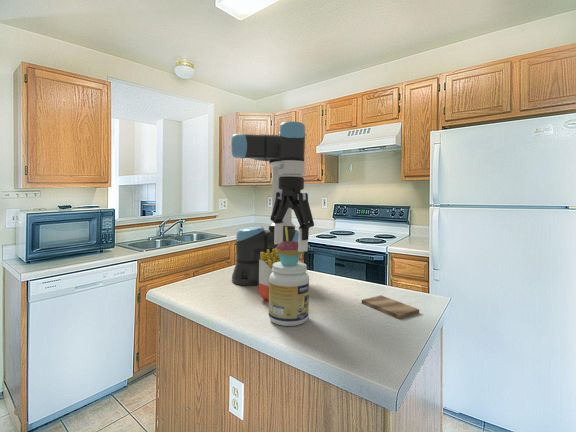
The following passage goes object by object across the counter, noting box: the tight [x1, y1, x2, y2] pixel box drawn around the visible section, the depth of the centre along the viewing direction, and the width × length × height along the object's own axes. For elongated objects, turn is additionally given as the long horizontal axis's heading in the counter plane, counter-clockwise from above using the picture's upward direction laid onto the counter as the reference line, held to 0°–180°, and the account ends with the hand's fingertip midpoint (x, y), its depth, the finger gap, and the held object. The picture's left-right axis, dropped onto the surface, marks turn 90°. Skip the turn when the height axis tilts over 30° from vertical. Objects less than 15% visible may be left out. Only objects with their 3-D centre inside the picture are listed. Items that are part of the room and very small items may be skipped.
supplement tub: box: [268, 261, 310, 327], centre depth 94 cm, size 12×12×17 cm
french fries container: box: [258, 248, 281, 302], centre depth 111 cm, size 5×11×18 cm, turn 139°
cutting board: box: [361, 294, 420, 320], centre depth 105 cm, size 16×10×1 cm, turn 32°
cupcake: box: [276, 224, 305, 266], centre depth 92 cm, size 9×8×12 cm
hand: (289, 247), depth 93 cm, fingers open, 13 cm apart
